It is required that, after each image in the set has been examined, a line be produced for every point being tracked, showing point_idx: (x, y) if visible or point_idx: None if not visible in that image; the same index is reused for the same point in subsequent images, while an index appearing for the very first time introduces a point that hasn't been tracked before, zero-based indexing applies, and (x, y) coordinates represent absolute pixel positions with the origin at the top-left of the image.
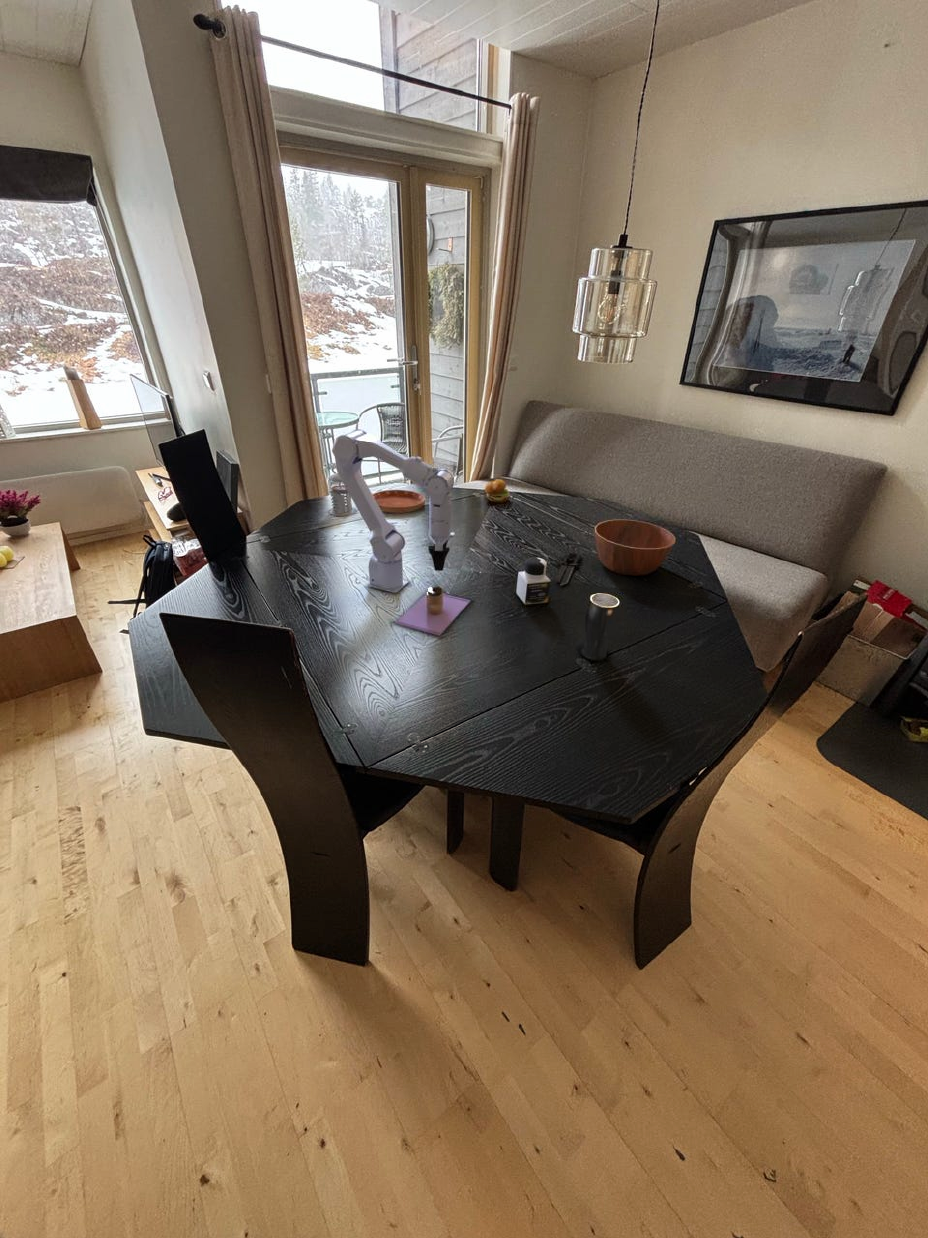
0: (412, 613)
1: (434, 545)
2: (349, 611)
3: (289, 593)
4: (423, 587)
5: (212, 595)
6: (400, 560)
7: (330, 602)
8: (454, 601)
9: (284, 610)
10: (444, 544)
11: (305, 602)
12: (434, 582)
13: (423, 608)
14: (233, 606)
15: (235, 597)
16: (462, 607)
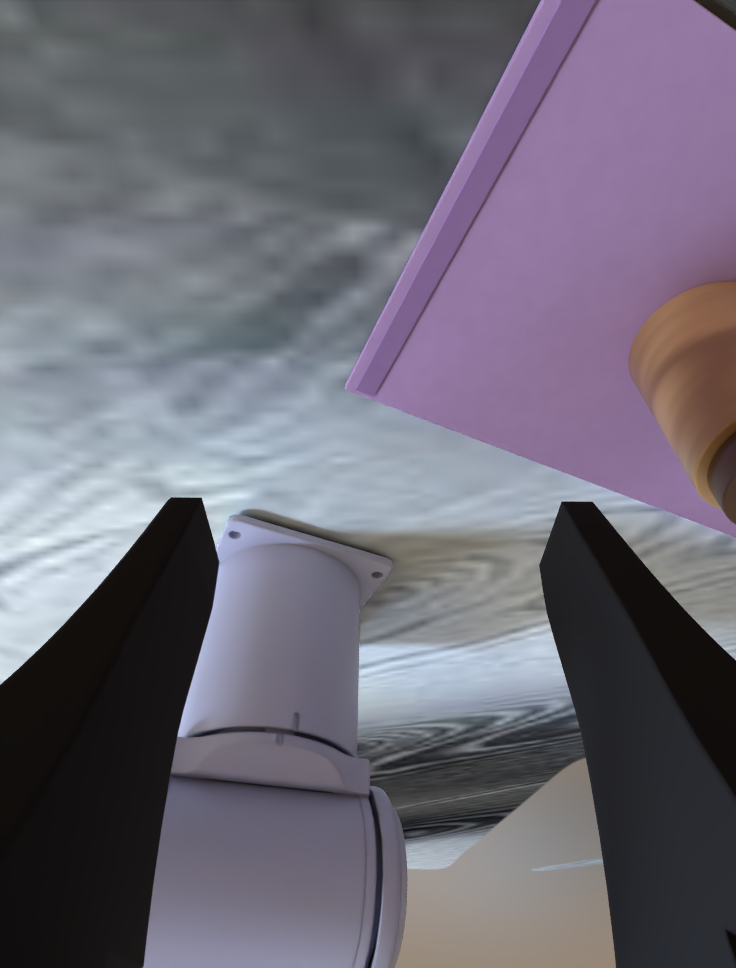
0: (678, 475)
1: (171, 764)
2: (556, 672)
3: (397, 778)
4: (285, 428)
5: (411, 845)
6: (290, 729)
7: (469, 714)
8: (570, 164)
9: (511, 774)
10: (112, 715)
11: (463, 752)
12: (179, 356)
13: (629, 419)
14: (472, 824)
15: (422, 828)
16: (729, 60)
